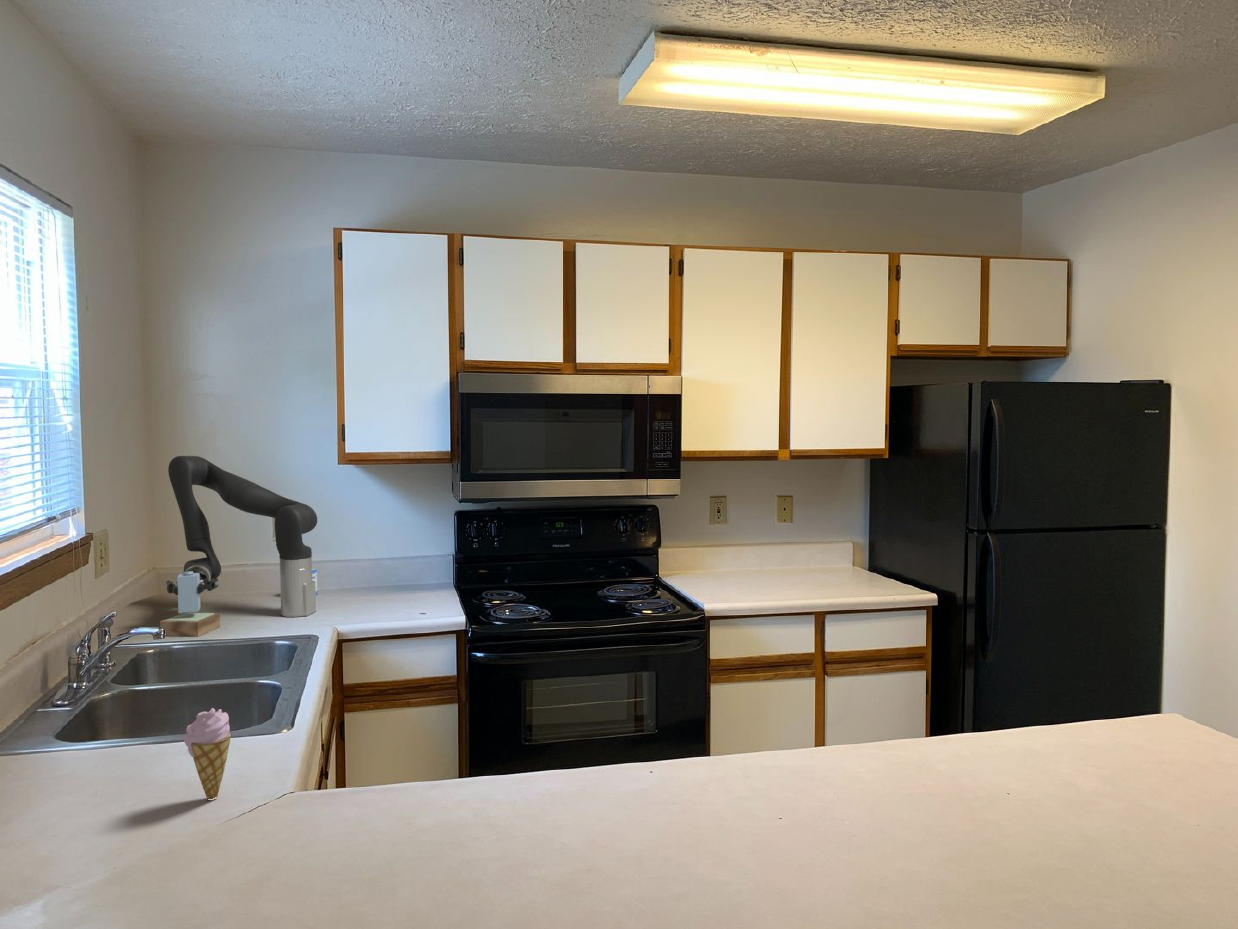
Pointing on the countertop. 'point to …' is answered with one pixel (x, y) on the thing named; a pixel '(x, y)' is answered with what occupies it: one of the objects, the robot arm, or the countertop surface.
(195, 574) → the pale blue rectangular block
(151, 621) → the countertop surface
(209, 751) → the ice cream cone
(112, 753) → the countertop surface
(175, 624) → the walnut base block
